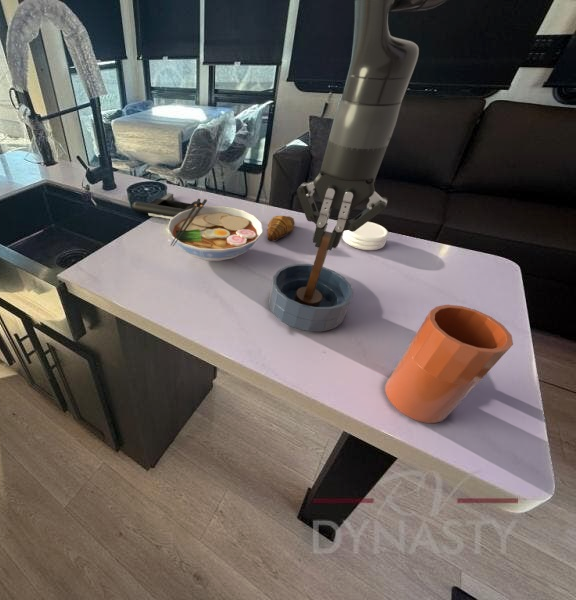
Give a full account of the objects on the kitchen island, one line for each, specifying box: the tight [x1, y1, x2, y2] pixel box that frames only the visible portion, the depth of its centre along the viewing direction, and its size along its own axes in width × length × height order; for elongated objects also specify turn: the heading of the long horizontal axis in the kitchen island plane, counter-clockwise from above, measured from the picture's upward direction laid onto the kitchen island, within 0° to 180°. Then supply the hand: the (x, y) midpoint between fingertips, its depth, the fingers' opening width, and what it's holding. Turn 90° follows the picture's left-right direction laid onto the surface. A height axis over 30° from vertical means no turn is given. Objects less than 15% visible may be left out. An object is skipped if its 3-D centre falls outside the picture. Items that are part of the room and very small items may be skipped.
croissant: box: [266, 215, 296, 242], centre depth 88 cm, size 14×7×5 cm, turn 142°
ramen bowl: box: [167, 198, 264, 262], centre depth 81 cm, size 25×23×8 cm
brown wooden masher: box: [294, 230, 332, 307], centre depth 60 cm, size 5×5×16 cm
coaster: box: [342, 221, 390, 251], centre depth 84 cm, size 10×10×4 cm
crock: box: [384, 304, 514, 424], centre depth 45 cm, size 8×8×15 cm
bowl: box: [268, 263, 354, 332], centre depth 64 cm, size 14×14×6 cm
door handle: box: [131, 192, 202, 220], centre depth 103 cm, size 3×20×16 cm
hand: (324, 246), depth 56 cm, fingers closed on brown wooden masher, 1 cm apart
